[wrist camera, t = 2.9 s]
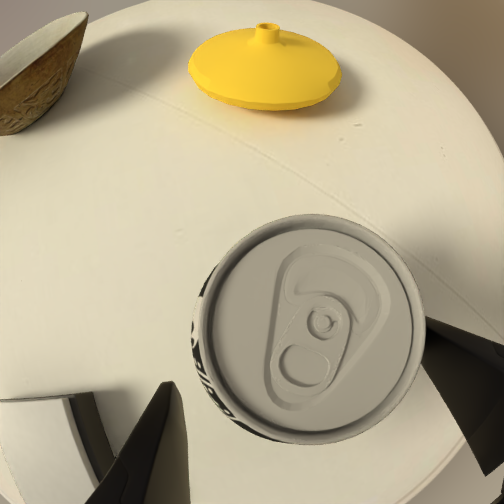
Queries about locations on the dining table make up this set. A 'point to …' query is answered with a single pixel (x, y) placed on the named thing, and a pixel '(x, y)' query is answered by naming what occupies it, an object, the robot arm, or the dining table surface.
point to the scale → (54, 447)
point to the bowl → (38, 71)
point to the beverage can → (309, 330)
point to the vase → (265, 69)
